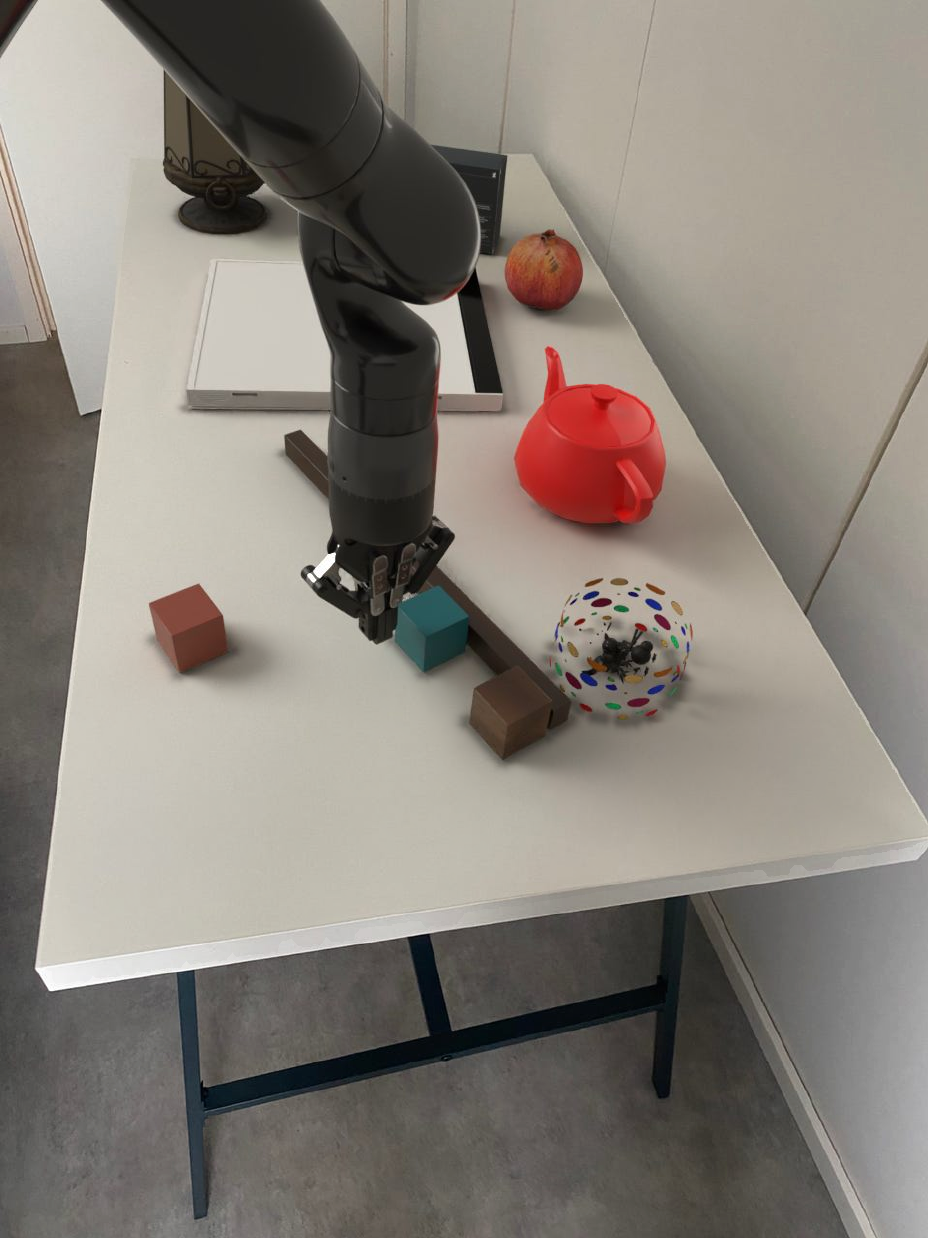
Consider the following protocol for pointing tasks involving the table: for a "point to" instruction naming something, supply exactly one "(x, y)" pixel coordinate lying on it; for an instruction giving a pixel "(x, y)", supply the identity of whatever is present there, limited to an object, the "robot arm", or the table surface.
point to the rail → (481, 629)
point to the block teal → (431, 628)
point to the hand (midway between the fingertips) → (378, 634)
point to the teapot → (591, 452)
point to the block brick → (189, 627)
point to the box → (481, 187)
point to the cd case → (316, 343)
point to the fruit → (544, 271)
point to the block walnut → (510, 712)
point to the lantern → (207, 170)
